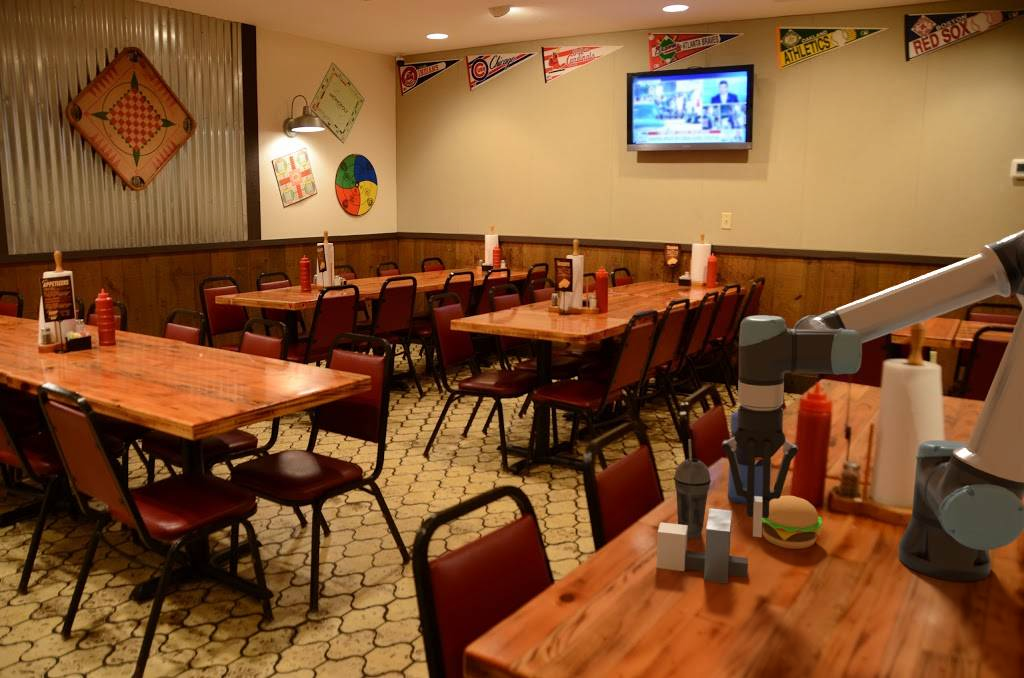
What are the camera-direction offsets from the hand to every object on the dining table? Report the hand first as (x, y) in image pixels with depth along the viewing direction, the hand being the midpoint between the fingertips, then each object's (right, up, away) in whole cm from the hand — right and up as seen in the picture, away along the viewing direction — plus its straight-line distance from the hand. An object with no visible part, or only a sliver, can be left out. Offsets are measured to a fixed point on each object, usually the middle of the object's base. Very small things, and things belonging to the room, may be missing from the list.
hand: (757, 533), depth 144 cm
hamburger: (+11, -5, +17) cm, 21 cm away
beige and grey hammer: (-9, -7, +4) cm, 12 cm away
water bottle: (+10, -1, +39) cm, 40 cm away
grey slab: (-6, -7, +3) cm, 10 cm away
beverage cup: (-8, -5, +19) cm, 21 cm away
